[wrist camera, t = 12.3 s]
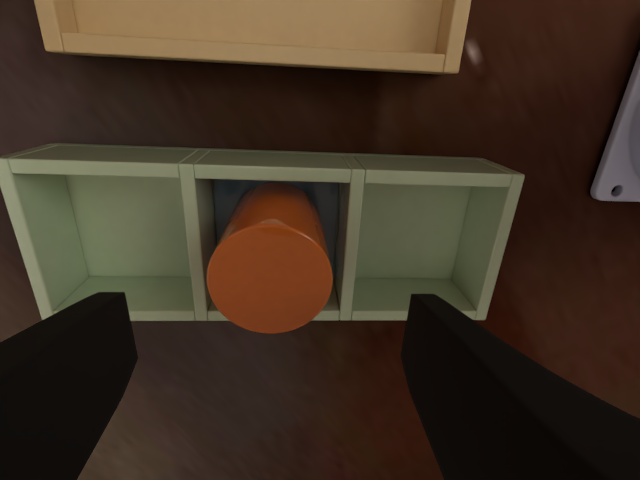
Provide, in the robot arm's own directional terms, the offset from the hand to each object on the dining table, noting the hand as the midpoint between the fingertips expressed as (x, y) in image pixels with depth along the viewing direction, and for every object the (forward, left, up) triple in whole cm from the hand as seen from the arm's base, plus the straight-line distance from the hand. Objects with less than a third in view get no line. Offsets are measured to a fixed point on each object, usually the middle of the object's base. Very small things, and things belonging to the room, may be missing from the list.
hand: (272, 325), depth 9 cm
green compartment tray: (0, 0, -8) cm, 8 cm away
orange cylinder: (0, 0, -7) cm, 7 cm away
